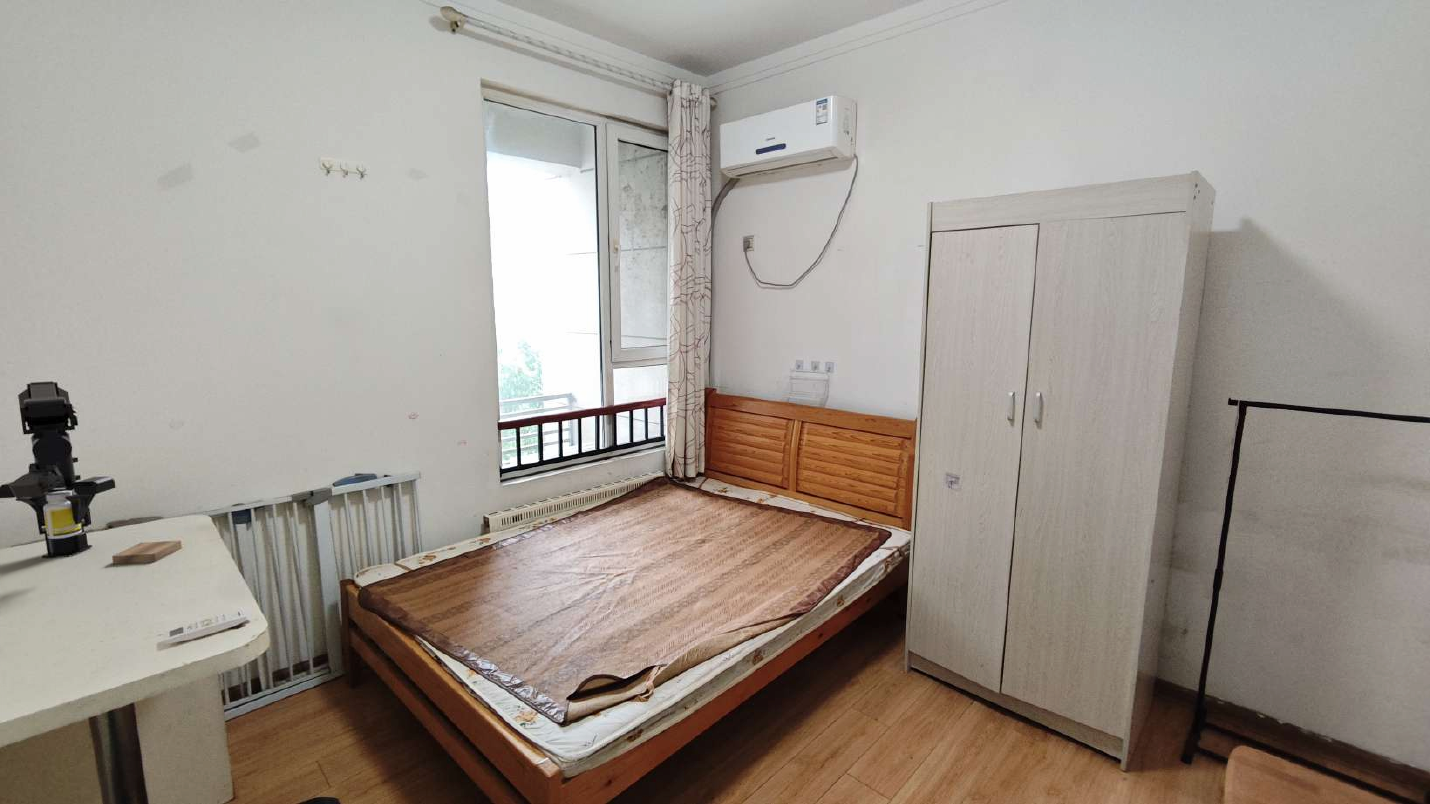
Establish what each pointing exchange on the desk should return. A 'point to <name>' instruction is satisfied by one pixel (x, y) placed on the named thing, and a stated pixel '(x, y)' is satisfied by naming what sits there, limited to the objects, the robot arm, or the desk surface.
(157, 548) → the base plate
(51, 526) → the supplement bottle
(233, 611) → the desk surface
